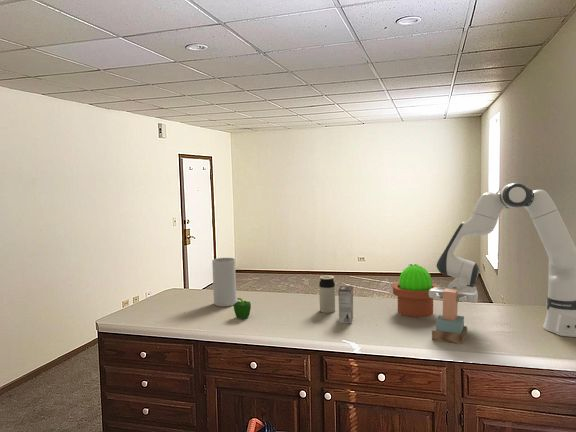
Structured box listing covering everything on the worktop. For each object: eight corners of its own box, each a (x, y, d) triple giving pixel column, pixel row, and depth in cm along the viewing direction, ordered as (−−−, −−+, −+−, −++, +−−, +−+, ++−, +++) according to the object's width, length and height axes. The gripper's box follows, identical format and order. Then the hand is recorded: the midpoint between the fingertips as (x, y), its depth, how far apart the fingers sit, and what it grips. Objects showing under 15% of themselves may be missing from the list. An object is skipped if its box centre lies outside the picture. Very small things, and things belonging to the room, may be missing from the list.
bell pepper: (254, 317, 237) (254, 297, 236) (242, 321, 231) (241, 301, 230) (243, 314, 243) (242, 295, 242) (231, 317, 237) (230, 298, 236)
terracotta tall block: (457, 317, 202) (457, 289, 201) (454, 320, 198) (455, 292, 196) (445, 315, 205) (445, 288, 203) (442, 318, 200) (443, 291, 199)
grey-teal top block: (463, 326, 203) (464, 316, 203) (460, 333, 195) (461, 323, 194) (439, 323, 208) (439, 313, 208) (435, 330, 199) (435, 320, 199)
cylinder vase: (227, 299, 272) (226, 256, 270) (241, 303, 263) (239, 259, 261) (209, 304, 264) (207, 260, 261) (222, 308, 254) (220, 262, 252)
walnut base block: (466, 336, 204) (467, 326, 204) (461, 345, 194) (461, 334, 193) (438, 332, 210) (438, 322, 210) (431, 340, 200) (431, 330, 199)
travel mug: (330, 314, 240) (330, 279, 238) (317, 311, 244) (316, 277, 242) (337, 310, 246) (337, 276, 245) (324, 308, 250) (323, 274, 249)
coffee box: (340, 317, 234) (339, 285, 232) (353, 317, 233) (353, 285, 231) (338, 323, 225) (338, 290, 223) (352, 323, 224) (351, 290, 222)
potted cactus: (436, 321, 224) (436, 269, 222) (389, 316, 232) (389, 267, 230) (439, 308, 245) (439, 260, 242) (396, 305, 253) (396, 259, 250)
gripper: (432, 282, 217) (424, 289, 205) (480, 287, 206) (474, 294, 194) (432, 296, 217) (424, 303, 205) (480, 301, 207) (474, 309, 195)
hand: (449, 299), depth 200 cm, fingers open, 8 cm apart
